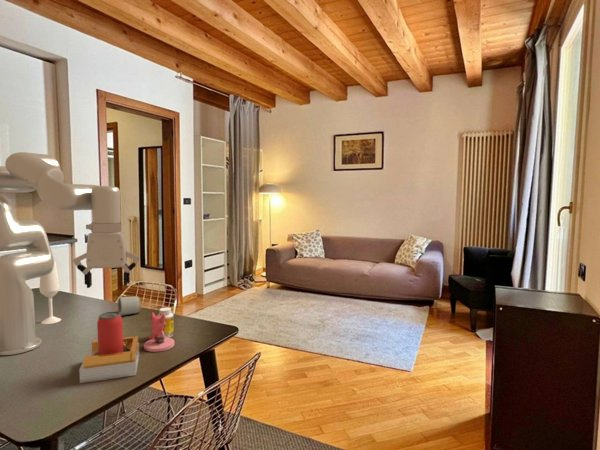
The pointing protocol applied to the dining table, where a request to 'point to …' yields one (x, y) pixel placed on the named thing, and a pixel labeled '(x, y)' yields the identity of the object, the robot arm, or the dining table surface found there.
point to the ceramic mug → (129, 305)
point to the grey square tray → (110, 362)
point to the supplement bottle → (167, 321)
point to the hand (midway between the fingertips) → (107, 285)
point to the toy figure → (158, 335)
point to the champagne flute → (50, 292)
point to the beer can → (110, 333)
